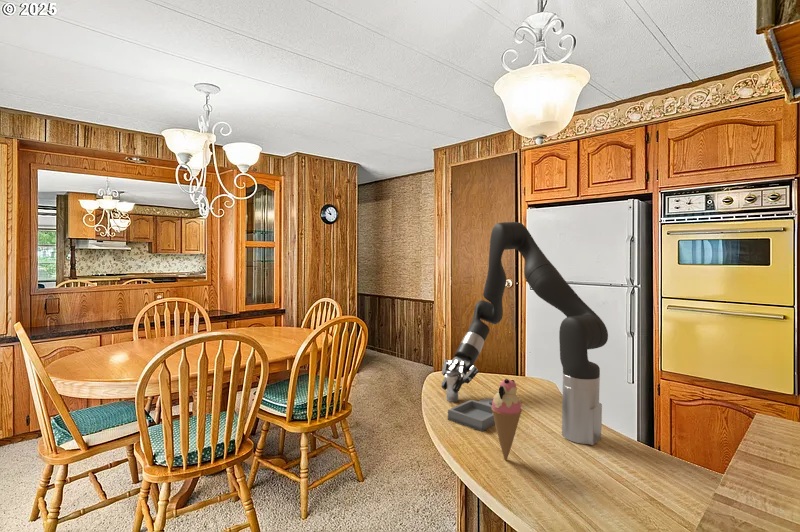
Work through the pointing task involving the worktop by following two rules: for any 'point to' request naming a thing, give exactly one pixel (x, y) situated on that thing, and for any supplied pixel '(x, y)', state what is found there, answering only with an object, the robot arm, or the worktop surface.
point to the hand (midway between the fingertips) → (448, 389)
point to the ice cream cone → (506, 414)
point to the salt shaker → (452, 384)
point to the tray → (472, 415)
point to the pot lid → (486, 401)
